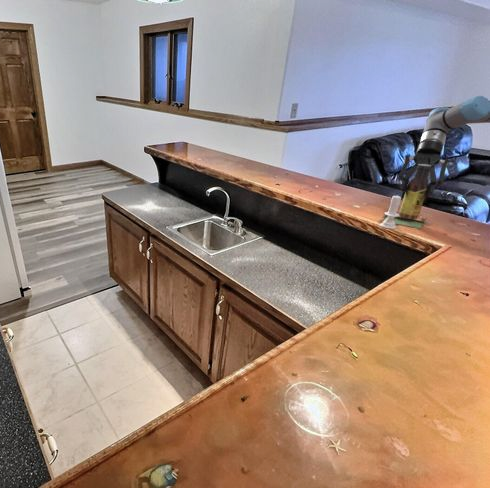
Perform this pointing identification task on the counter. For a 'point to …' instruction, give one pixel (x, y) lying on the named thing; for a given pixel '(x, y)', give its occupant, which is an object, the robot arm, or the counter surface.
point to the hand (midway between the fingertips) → (413, 198)
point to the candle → (392, 213)
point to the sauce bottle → (415, 193)
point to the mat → (407, 222)
